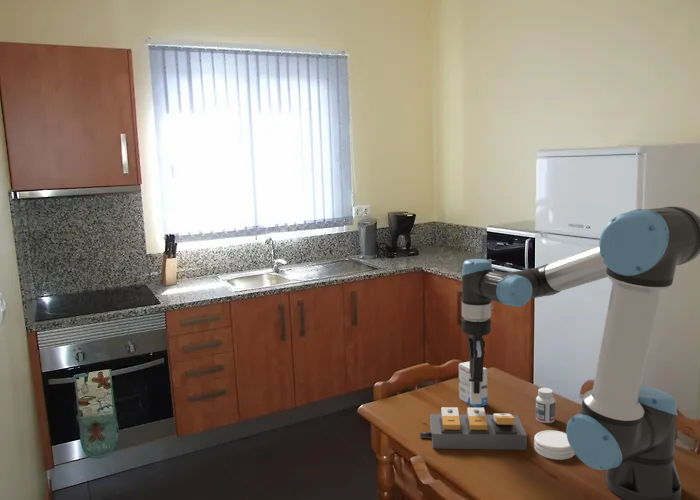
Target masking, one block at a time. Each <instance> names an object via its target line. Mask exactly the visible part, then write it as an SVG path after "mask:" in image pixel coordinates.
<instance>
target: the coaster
mask: <svg viewBox="0 0 700 500" xmlns="http://www.w3.org/2000/svg"><path fill="white" fill-rule="evenodd" d="M533 439H534V441H533V449H534V451H535V452H536V453H537V454H538V455H540V456H542V457H543V458H546V459H550V460H554V461H555V460H557V461H563V460H569V459H571V458H573V457H574V456H576V454H575V453H574V451H573V449H572V447H571V446H570V444H569V442H568V439H567V434H566V432H564V431H559V430H554V429H553V430H550V429H549V430H542V431H541V430H540V431H539V432H537V433H536V434H534V437H533Z"/></svg>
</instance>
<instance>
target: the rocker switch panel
mask: <svg viewBox="0 0 700 500" xmlns="http://www.w3.org/2000/svg"><path fill="white" fill-rule="evenodd" d="M485 415H486V420H487V425H488V427H487V430H470V426H469V420H468V414H460V413H459V420H460V430H443V424H442V414H441V413H437V414H436V413H434V414H433V413H430V414H429V416H430V417H429V419H430V421H429V422H430V423H429V424H430V425H429V426H430V427H429V428H430V432H429V431H428V432H426V431H425V432H421V431H420V432H419V433H420V435H419V436H420V438H431V443H432V444H431V445H432V449H446V450H447V449H448V450H449V449H452V450H453V449H454V450H461V449H462V450H510V451H511V450H518V451H519V450H520V451H522V450H523V451H526V450H527V449H528V448H527V446H528V445H527V443H528V442H527V441H528V439H527V438H528V435H527V433H526V431H525V430H526V429H525V428H524V426H523V424H522V421H521V419H520V418H519V416H518V414H511V415H512V416H513V417H514V418H515V425H511V424H497V423H496V422H495V421H494V416H493V414H485Z"/></svg>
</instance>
